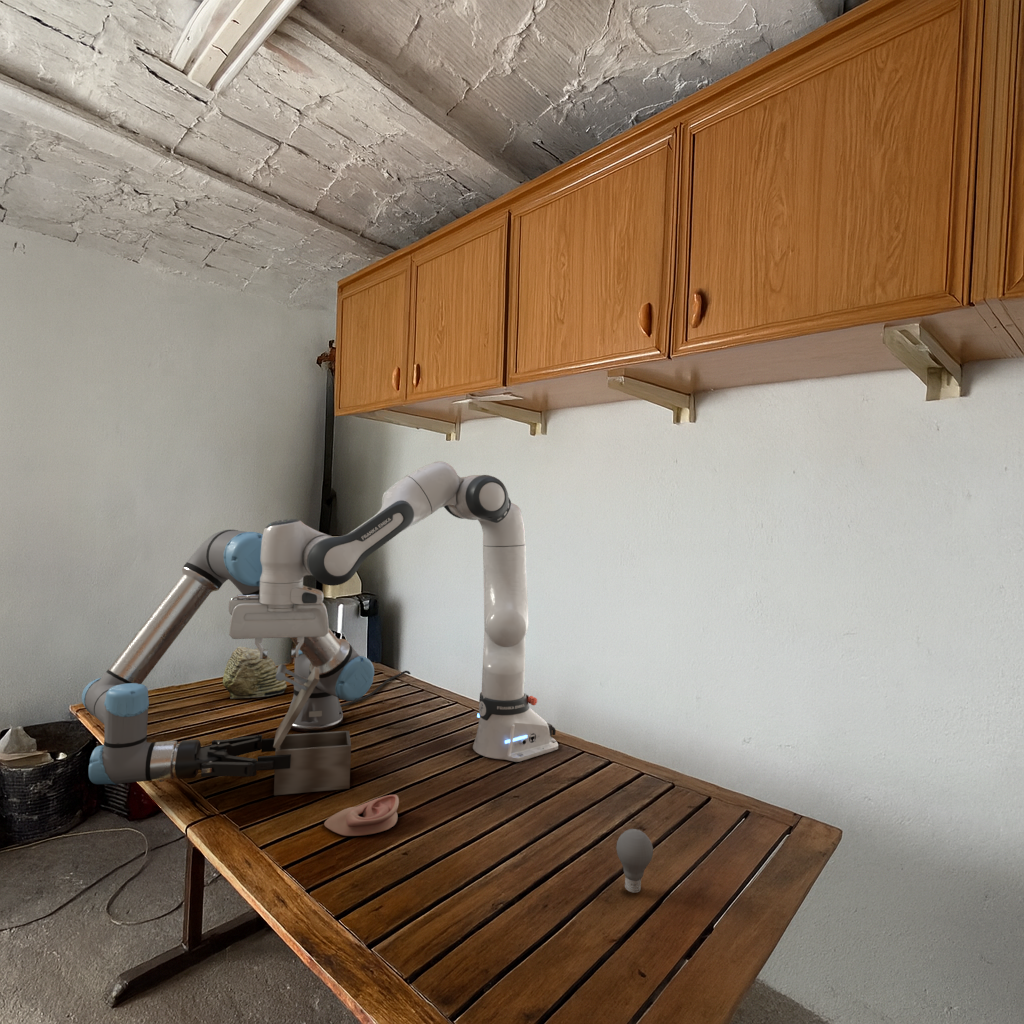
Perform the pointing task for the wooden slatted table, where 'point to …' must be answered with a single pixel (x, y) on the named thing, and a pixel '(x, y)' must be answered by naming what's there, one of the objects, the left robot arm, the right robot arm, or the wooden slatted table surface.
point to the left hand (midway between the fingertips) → (291, 752)
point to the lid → (297, 703)
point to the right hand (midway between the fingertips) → (279, 657)
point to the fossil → (251, 675)
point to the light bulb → (634, 857)
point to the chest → (314, 763)
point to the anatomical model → (365, 817)
